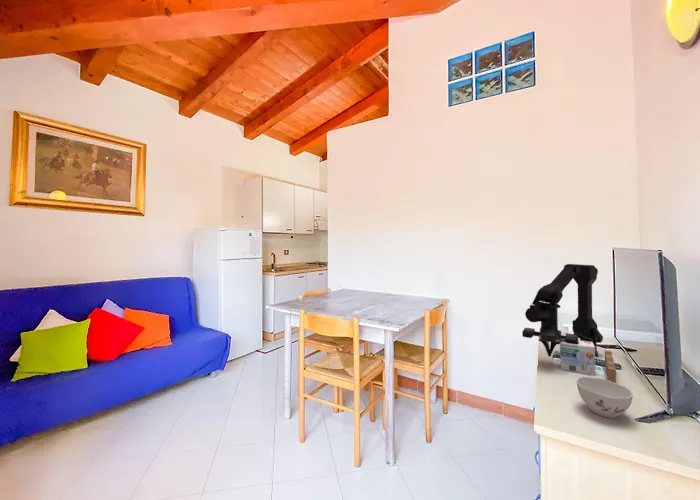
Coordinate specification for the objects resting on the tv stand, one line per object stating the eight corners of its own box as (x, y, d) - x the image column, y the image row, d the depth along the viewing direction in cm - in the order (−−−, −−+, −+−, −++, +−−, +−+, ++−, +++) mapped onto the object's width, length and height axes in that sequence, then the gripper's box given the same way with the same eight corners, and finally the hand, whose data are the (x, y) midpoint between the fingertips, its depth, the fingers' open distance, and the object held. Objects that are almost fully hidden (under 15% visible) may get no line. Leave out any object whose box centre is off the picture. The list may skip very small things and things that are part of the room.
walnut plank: (605, 365, 115) (604, 350, 115) (611, 366, 114) (611, 351, 114) (608, 385, 100) (608, 368, 100) (616, 387, 99) (615, 369, 99)
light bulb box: (561, 369, 113) (560, 342, 113) (559, 363, 119) (559, 337, 118) (596, 375, 107) (595, 347, 107) (593, 368, 113) (593, 341, 112)
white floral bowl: (636, 431, 76) (636, 402, 76) (577, 415, 84) (576, 388, 84) (628, 405, 88) (628, 379, 88) (576, 393, 96) (576, 369, 96)
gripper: (519, 320, 118) (520, 357, 119) (577, 327, 106) (577, 369, 107) (524, 314, 127) (524, 349, 127) (578, 320, 115) (578, 359, 115)
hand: (549, 356), depth 119 cm, fingers closed
